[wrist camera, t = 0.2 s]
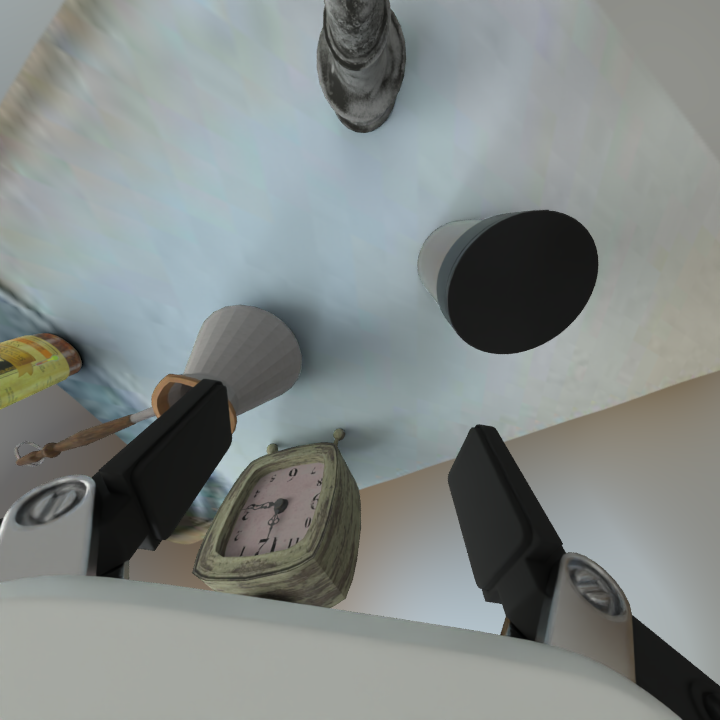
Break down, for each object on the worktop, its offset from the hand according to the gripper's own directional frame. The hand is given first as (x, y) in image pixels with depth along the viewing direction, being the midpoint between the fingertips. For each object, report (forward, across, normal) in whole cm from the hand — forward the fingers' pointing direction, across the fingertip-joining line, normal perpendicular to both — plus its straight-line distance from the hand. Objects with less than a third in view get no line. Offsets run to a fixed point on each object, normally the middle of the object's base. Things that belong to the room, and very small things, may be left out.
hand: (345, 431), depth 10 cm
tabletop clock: (+20, +4, +24) cm, 32 cm away
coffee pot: (+20, +16, +10) cm, 28 cm away
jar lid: (+7, -8, -5) cm, 12 cm away
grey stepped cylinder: (+20, +3, -16) cm, 26 cm away
